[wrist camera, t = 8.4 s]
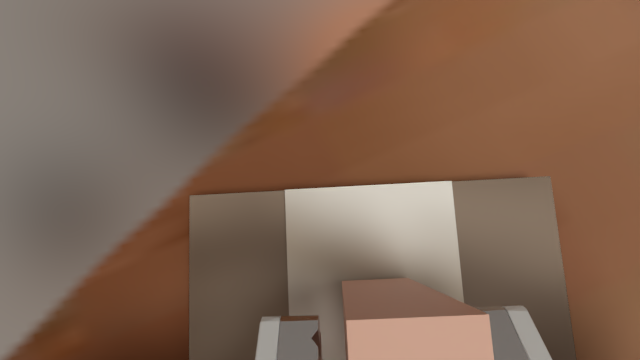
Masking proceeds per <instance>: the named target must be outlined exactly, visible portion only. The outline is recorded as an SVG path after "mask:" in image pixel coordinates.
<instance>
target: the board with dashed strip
mask: <svg viewBox="0 0 640 360" xmlns="http://www.w3.org/2000/svg"><path fill="white" fill-rule="evenodd" d="M393 278H409V279H412V280H414V281H416V282H418V283H420V284H423V285H425V286H427V287H429V288H432V289H434V290H436V291H438V292H440V293H443V294H445V295H447V296H449V297H452V298H454V299H456V300H458V301H460V302H463V303H465V304H467V305H469V306H472V307H489V306H516V305H521V306H524V307H525V308H526V309H527V311H528V313H529V315H530V316H531V318H532V320H533V322H534V324H535V326H536V328H537V330H538V332H539V334H540V336H541V338H542V340H543V342H544V344H545V346H546V348H547V350H548V352H549V354H550V356H551V358H552V360H576V354H575V347H574V340H573V333H572V326H571V319H570V312H569V305H568V298H567V290H566V283H565V276H564V269H563V262H562V255H561V248H560V241H559V234H558V227H557V220H556V213H555V206H554V199H553V192H552V185H551V178H550V176H547V177H528V178H509V179H491V180H472V181H453V182H452V181H439V182H421V183H402V184H383V185H365V186H346V187H327V188H309V189H290V190H285V191H266V192H248V193H229V194H210V195H192V196H190V243H189V360H255V356H256V348H257V341H258V333H259V326H260V321H261V319H262V317H267V316H301V315H319V322H320V333H321V342H322V360H346V351H345V333H344V315H343V296H342V281H350V280H372V279H393Z"/></svg>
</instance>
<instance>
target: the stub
mask: <svg viewBox="0 0 640 360" xmlns="http://www.w3.org/2000/svg"><path fill="white" fill-rule="evenodd" d="M342 296H343V315H344V333H345V351H346V360H494V355H493V346H492V337H491V328H490V319H489V314H487V313H485V312H483V311H480V310H478V309H476V308H474V307H472V306H469V305H467V304H465V303H463V302H460V301H458V300H456V299H454V298H452V297H449V296H447V295H445V294H443V293H440V292H438V291H436V290H434V289H432V288H429V287H427V286H425V285H423V284H420V283H418V282H416V281H414V280H412V279H409V278H393V279H372V280H350V281H342Z"/></svg>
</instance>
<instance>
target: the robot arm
mask: <svg viewBox="0 0 640 360" xmlns="http://www.w3.org/2000/svg"><path fill="white" fill-rule="evenodd" d="M474 308H476V309H478V310H480V311H483V312H485V313H487V314H489V319H490V328H491V337H492V346H493V355H494V360H552V358H551V356H550V354H549V352H548V350H547V348H546V346H545V344H544V342H543V340H542V338H541V336H540V334H539V332H538V330H537V328H536V326H535V324H534V322H533V320H532V318H531V316H530V315H529V313H528V311H527V309H526V308H525V307H524V306H521V305H516V306H489V307H474ZM255 360H322V342H321V333H320V322H319V315H301V316H267V317H262V319H261V321H260V326H259V333H258V341H257V348H256V356H255Z"/></svg>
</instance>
